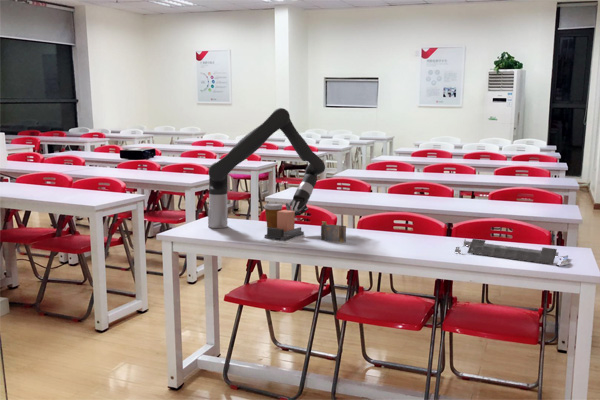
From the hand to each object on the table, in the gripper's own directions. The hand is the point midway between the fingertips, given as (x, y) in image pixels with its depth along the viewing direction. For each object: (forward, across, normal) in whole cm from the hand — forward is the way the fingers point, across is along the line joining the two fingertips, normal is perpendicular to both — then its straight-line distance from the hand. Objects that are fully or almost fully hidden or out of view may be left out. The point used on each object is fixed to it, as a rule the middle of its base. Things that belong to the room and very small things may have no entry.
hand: (289, 220), depth 281 cm
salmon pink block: (+6, 0, +1) cm, 6 cm away
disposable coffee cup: (-2, -17, +12) cm, 21 cm away
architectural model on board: (+5, +24, +6) cm, 25 cm away
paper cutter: (-8, +100, +19) cm, 102 cm away
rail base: (+8, 0, +2) cm, 8 cm away
